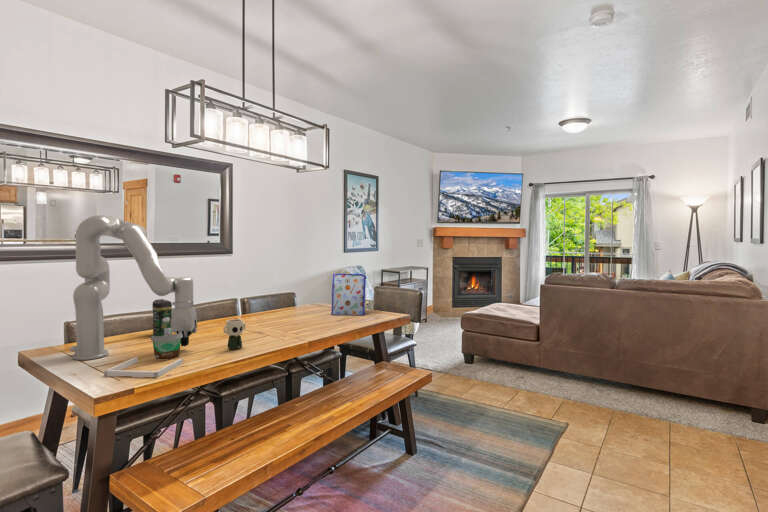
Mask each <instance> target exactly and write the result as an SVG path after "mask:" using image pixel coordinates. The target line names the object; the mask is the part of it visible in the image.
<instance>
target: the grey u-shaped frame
mask: <svg viewBox="0 0 768 512" xmlns="http://www.w3.org/2000/svg"><path fill="white" fill-rule="evenodd" d="M136 362H137V363H138V362H139V358H138V357H136V356H135V357H133V358H131V359H128V360H125V361H123V362H121V363H119V364H117V365H115V366H113V367H109V368H107V369H105V370H104V377H116V376H132V377H131V378H144V377H158V378H159V376H160V377H161V376H163V375H165V374H168V371H169V372H170V371H172V370H174V369H176V368H178V367H180V366H181V365H183V364H184V363H183V362H184V360H183V358H178V359H177V360H176V361H173V362H172V363H169V364H167V365H166V366H164V367H162V368H160V369H158V370H156V371H152V370H150V371H148V370H124V369H126V368H128V367H130V365H131V366H133V365H135V364H137V363H136ZM134 363H135V364H134ZM132 364H133V365H132ZM179 365H180V366H179ZM177 366H178V367H177ZM123 368H124V369H123ZM121 369H122V370H121ZM162 374H163V375H162Z"/></svg>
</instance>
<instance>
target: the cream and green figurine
mask: <svg viewBox="0 0 768 512" xmlns="http://www.w3.org/2000/svg"><path fill="white" fill-rule="evenodd" d="M225 323H226V325H224V326H223V327H222V328H223V334H226V335H228V336H229V337H228V340H227V348H228V349H230V350H237V349H238V348H239V349H241V348H243V343H242V336H241V335H243V332H244V330H246V322H244V321H243V319H242V318H241V319H240V318H232V319H228V320H227V319H226V322H225Z"/></svg>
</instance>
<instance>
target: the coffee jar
mask: <svg viewBox="0 0 768 512" xmlns="http://www.w3.org/2000/svg"><path fill="white" fill-rule="evenodd" d="M172 303H173V302H172V301H170V300H167V299H163V298H161V299H160V298H159V299H155V300H153V301H152V306H151V307H152V335H153V336H163V335H166V334H173V332H172V331H173V330H171V317H172V311H173V305H172Z"/></svg>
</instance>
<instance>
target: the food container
mask: <svg viewBox="0 0 768 512" xmlns="http://www.w3.org/2000/svg"><path fill="white" fill-rule="evenodd" d="M182 337H183V335H182V333H179V334H177V333H172V334H166V335H163V336H154V335H153V334H152V335H151V336H150V341H151V342H152V346H153V352H154V353H153V355H154V359H155V358H156V359H155V360H158V359H167V360H172V358H173V359H176V358H178V357H180V355H181V354H180V353H181V338H182ZM175 357H176V358H175Z"/></svg>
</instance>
